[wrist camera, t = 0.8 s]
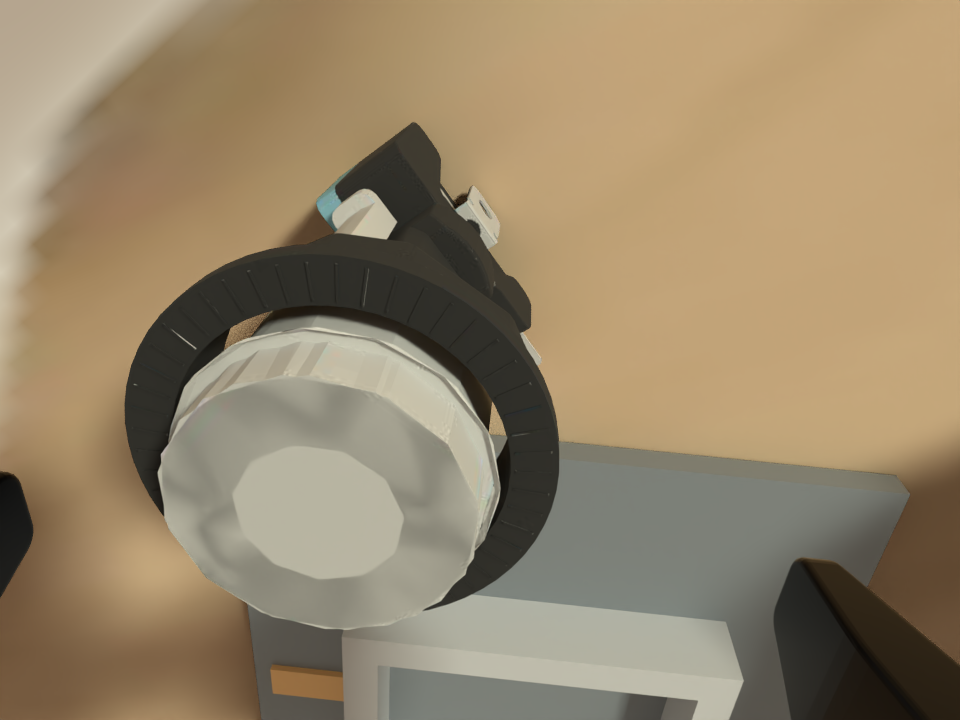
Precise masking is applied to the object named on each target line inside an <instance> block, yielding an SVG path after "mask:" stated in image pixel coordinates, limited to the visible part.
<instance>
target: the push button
mask: <svg viewBox="0 0 960 720" xmlns="http://www.w3.org/2000/svg"><path fill="white" fill-rule="evenodd" d="M440 170H441V159H440V156H439V153H438V152H437V150H436V148H435V147H434V145H433V144H432V142H431V141H430V140H429V138H428V137H427V135H426V134H425V132H424V131H423V130H422V129H421V127H420V126H419V125H418V124H417V123H414V122H413V123H411V124H410V125H409V126H407V127H406V128H405V129H403V130H402V131H401V132H399V133H398V134H397V135H395V136H394V137H393V138H391V139H390V140H389V141H387V142H386V143H385V144H383V145H382V146H381V147H379V148H378V149H377V150H375V151H374V152H373V153H371V154H370V155H369V156H367V157H366V158H365V159H363V160H362V161H361V162H359V163H358V164H357V165H355V166H354V167H353V168H351V169H350V170H349V171H347V172H346V173H345V174H343V175H342V176H341V177H340V178H339V179H338V180H337V181H336V182H335V183H334V184H332V185H331V186H330V187H329V188H328V189H327V190H326V191H325V192H324V193H323V194H322V195H321V196H320V197H319V198H318V199H317V202H316V204H317V207H318V210H319V211H320V213H321V215H322V216H323V218H324V219H325V220H326V221H327V223H328V224H329V225H330V226H331V228H332V229H333V230H334V231H335V233H334V234H331V235H328V236H326V237H324V238H321V239H319V240H316V241H314V242H311V243H309V244H307V245H292V246H286V247H280V248H274V249H269V250H265V251H262V252H258V253H254V254H251V255H247V256H245V257H242V258H240V259H238V260H235V261H233V262H230V263H228V264H226V265H224V266H222V267H220V268H218V269H217V270H215V271H213V272H211V273H210V274H208V275H206V276H205V277H203V278H202V279H201V280H199V281H198V282H197V283H195V284H194V285H193V286H191V287H190V288H189V289H188V290H186V291H185V292H184V293H183V294H182V295H181V296H179V297H178V298H177V299H176V300H175V301H174V302H173V303H172V304H171V305H170V306H169V307H168V308H167V309H166V310H165V311H164V312H163V313H162V314H161V315H160V316H159V317H158V319H157V320H156V321H155V322H154V324H153V325H152V326H151V328H150V329H149V330H148V332H147V334H146V335H145V337H144V339H143V341H142V342H141V344H140V346H139V348H138V350H137V353H136V355H135V358H134V360H133V363H132V365H131V369H130V373H129V377H128V381H127V386H126V396H125V425H126V431H127V437H128V443H129V447H130V450H131V454H132V457H133V461H134V463H135V466H136V468H137V471H138V473H139V476H140V478H141V480H142V482H143V484H144V486H145V488H146V489H147V491H148V493H149V495H150V497H151V498H152V500H153V501H154V503H155V504H156V506H157V507H158V509H159V510H160V512H161V513H162V514H163V516H164V517H165V521H166V522H167V524H168V528H169V530H170V531H171V533H172V534H173V535H174V537H175V538H176V539H177V540H178V542H179V543H180V544H181V546H182V547H183V548H184V549H185V551H186V552H187V553H188V555H189V556H190V557H191V559H192V560H193V561H194V562H195V564H196V565H197V566H198V568H199V569H200V570H201V572H202V573H203V574H204V575H205V577H206V578H207V579H209V580H211V581H212V582H214V583H215V584H217V585H219V586H220V587H222V588H223V589H225V590H226V591H228V592H230V593H231V594H233V595H234V596H236V597H238V598H239V599H241V600H242V601H244V602H246V603H247V604H249V605H250V606H252V607H254V608H255V609H257V610H258V611H260V612H261V613H265V614H268V615H270V616H272V617H276V618H282V619H287V620H292V621H296V622H300V623H303V624H307V625H311V626H315V627H319V628H323V629H343V630H351V629H355V628H360V627H371V626H388V625H390V624H393V623H395V622H397V621H399V620H401V619H404V618H408V617H413V616H417V615H418V614H419V613H420V612H422V611H426V610H431V609H434V608H438V607H441V606H444V605H448V604H451V603H453V602H456V601H458V600H461V599H463V598H466V597H468V596H470V595H472V594H474V593H476V592H478V591H480V590H481V589H483V588H485V587H486V586H488V585H489V584H491V583H493V582H494V581H496V580H497V579H499V578H500V577H501V576H502V575H503V574H505V573H506V572H507V571H508V570H510V569H511V568H512V567H513V566H514V565H515V564H516V563H517V562H518V561H519V560H520V559H521V558H522V557H523V556H524V555H525V554H526V552H527V551H528V550H529V548H530V547H531V546H532V544H533V543H534V542H535V541H536V539H537V537H538V535H539V534H540V532H541V530H542V529H543V527H544V525H545V523H546V521H547V518H548V516H549V514H550V511H551V509H552V506H553V502H554V498H555V495H556V491H557V485H558V478H559V436H558V428H557V420H556V415H555V411H554V407H553V403H552V399H551V396H550V393H549V391H548V388H547V385H546V383H545V380H544V378H543V376H542V374H541V372H540V370H539V368H538V365H539V364H541V361H542V358H541V357H540V355H539V354H538V352H537V351H536V350H535V348H534V347H533V346H532V344H531V343H530V341H529V340H528V339H527V337H526V336H525V335H524V333H523V332H524V331H525V330H527V329H529V328H530V327H531V303H530V301H529V298H528V297H527V295H526V293H525V292H524V290H523V289H522V287H521V286H520V284H519V283H518V282H517V281H516V279H515V278H513V277H511V276H508V275H506V274H505V273H504V272H503V270H502V269H501V267H500V266H499V265H498V263H497V262H496V260H495V259H494V258H493V256H492V255H491V253H490V252H489V251H488V249H489V248H491V247H492V246H494V245H495V244H496V243H497V242H498V241H497V238H498V235H499V229H500V223H499V221H498V219H497V217H496V215H495V214H494V212H493V211H492V209H491V208H490V207H489V205H488V204H487V202H486V201H485V199H484V198H483V197H482V195H481V194H480V192H479V191H478V189H476V188H475V187H474V186H471V187H470V189H469V192H468V195H467V198H466V199H467V201H466V202H464V203H463V204H462V205H460V206H459V207H457V206H456V204H455V203H454V202H453V200H452V199H451V197H450V196H449V195H448V193H447V192H446V190H445V189H444V188H443V186H442V185H441V183H440ZM481 206H482V207H483V208H484V210H485V211H486V213H487V215H488V216H487V215H486V214H485V212H484V211H483V209H482V207H481ZM266 312H269V314H268V315H267V316H266V318H265V319H264V320H263V322H262V323H261V324H260V325H259V327H258V328H257V329H256V331H255V332H254V333H253V335H252V336H251V337H250V338H246V339H244V340H242V341H240V342H238V343H235V344H233V345H231V346H229V347H228V348H227V349H226V350H224V347H225V342H226V339H227V337H228V334H229V331H230V328H231V327H233V326H235V325H237V324H239V323H240V322H242V321H244V320H246V319H249V318H252V317H254V316H257V315H260V314H263V313H266ZM492 401H493V403H494V405H495V407H496V409H497V411H498V413H499V415H500V418H501V420H502V422H503V425H504V428H505V432H506V435H507V440H506V443H505V445H504V447H503V449H502V451H501V453H500V454H499V456H498V457H497V459H496V457H495V451H494V445H493V442H492V439H491V437H490V435H489V424H490V415H491V406H492Z"/></svg>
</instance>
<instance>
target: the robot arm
mask: <svg viewBox="0 0 960 720" xmlns="http://www.w3.org/2000/svg"><path fill="white" fill-rule="evenodd" d="M32 537H33V523H32V520H31V517H30V513H29V510H28V507H27V503H26V500H25V497H24V494H23V490H22V487H21V484H20V481H19V480H18V478H17V477H16V476H15V475H14V474H11V473H9V472H2V471H0V598H1V596H2V594H3V592H4V591H5V589H6V587H7V585H8V584H9V582H10V580H11V578H12V577H13V575H14V573H15V571H16V570H17V568H18V566H19V565H20V563H21V561H22V559H23V558H24V556H25V554H26V552H27V551H28V549H29V547H30V544H31V541H32ZM773 626H774V633H775V638H776V644H777V649H778V654H779V660H780V665H781V670H782V676H783V681H784V686H785V692H786V697H787V702H788V707H789V713H790V718H791V720H960V665H959V664H958V663H956V662H955V661H954V660H953V659H952V658H950V657H949V656H948V655H947V654H946V653H945V652H943V651H942V650H941V649H940V648H939V647H937V646H936V645H935V644H934V643H933V642H931V641H930V640H929V639H928V638H927V637H925V636H924V635H923V634H922V633H921V632H920V631H918V630H917V629H916V628H915V627H914V626H912V625H911V624H910V623H909V622H908V621H906V620H905V619H904V618H903V617H902V616H901V615H899V614H898V613H897V612H896V611H895V610H893V609H892V608H891V607H890V606H889V605H887V604H886V603H885V602H884V601H883V600H881V599H880V598H879V597H878V596H877V595H876V594H874V593H873V592H872V591H871V590H870V589H868V588H867V587H866V586H865V585H864V584H862V583H861V582H860V581H859V580H858V579H856V578H855V577H854V576H853V575H852V574H851V573H849V572H848V571H847V570H846V569H845V568H843V567H842V566H841V565H839V564H838V563H836V562H834V561H831V560H825V559H815V558H806V557H801V558H798V559H796V560H795V561H794V562H793V563H792V565H791V567H790V569H789V572H788V574H787V577H786V580H785V582H784V585H783V587H782V590H781V593H780V595H779V598H778V600H777V603H776V606H775V609H774V615H773Z"/></svg>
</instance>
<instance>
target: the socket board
mask: <svg viewBox="0 0 960 720" xmlns="http://www.w3.org/2000/svg"><path fill="white" fill-rule="evenodd" d="M489 435H490V434H489ZM490 437H491V439H492V442H493V445H494V451H495V457H496V459H497V457H498V456H499V454H500V453H501V451H502V449H503V447H504V445H505V443H506V440H507V436H500V435H490ZM909 496H910V493H909V492H908V490H907V489H906V488H905V486H904V485H903V484H902V482H901V481H900V480H899V478H898V477H897V476H896V475H887V474H877V473H867V472H857V471H848V470H838V469H828V468H818V467H808V466H798V465H788V464H778V463H768V462H758V461H748V460H738V459H728V458H718V457H708V456H698V455H688V454H679V453H669V452H659V451H649V450H639V449H629V448H619V447H609V446H599V445H589V444H579V443H569V442H559V478H558V485H557V491H556V495H555V498H554V502H553V506H552V509H551V511H550V514H549V516H548V518H547V521H546V523H545V525H544V527H543V529H542V530H541V532H540V534H539V535H538V537H537V539H536V541H535V542H534V543H533V544H532V546H531V547H530V548H529V550H528V551H527V552H526V554H525V555H524V556H523V557H522V558H521V559H520V560H519V561H518V562H517V563H516V564H515V565H514V566H513V567H512V568H511V569H510V570H508V571H507V572H506V573H505V574H503V575H502V576H501V577H500V578H499V579H497V580H496V581H494V582H493V583H491V584H489V585H488V586H486V587H485V588H483V589H481V590H480V591H478V592H476V593H474V594H472V595H470V596H468V597H466V598H463V599H461V600H458V601H456V602H453V603H451V604H448V605H444V606H441V607H438V608H434V609H431V610H426V611H422V612H420V613H419V614H418V615H417V616H413V617H408V618H404V619H401V620H399V621H397V622H395V623H393V624H390V625H388V626H371V627H360V628H355V629H351V630H343V629H323V628H319V627H315V626H311V625H307V624H303V623H300V622H296V621H292V620H287V619H282V618H276V617H272V616H270V615H268V614H265V613H261V612H260V611H258V610H257V609H255V608H254V607H252V606H250V605H249V604H247V605H248V613H249V622H250V630H251V638H252V646H253V655H254V663H255V671H256V680H257V688H258V696H259V704H260V713H261V720H791V718H790V713H789V707H788V702H787V697H786V692H785V686H784V681H783V676H782V670H781V665H780V660H779V654H778V649H777V644H776V638H775V633H774V626H773V615H774V609H775V606H776V603H777V600H778V598H779V595H780V593H781V590H782V587H783V585H784V582H785V580H786V577H787V574H788V572H789V569H790V567H791V565H792V563H793V562H794V561H795V560H796V559H798V558H801V557H806V558H815V559H825V560H831V561H834V562H836V563H838V564H839V565H841V566H842V567H843V568H845V569H846V570H847V571H848V572H849V573H851V574H852V575H853V576H854V577H855V578H856V579H858V580H859V581H860V582H861V583H862V584H864V585H865V586H866V587H868V584H869V582H870V580H871V578H872V576H873V574H874V572H875V569H876V567H877V565H878V563H879V561H880V559H881V557H882V554H883V552H884V550H885V548H886V546H887V544H888V541H889V539H890V537H891V535H892V533H893V531H894V529H895V526H896V524H897V522H898V520H899V518H900V516H901V514H902V511H903V509H904V507H905V505H906V503H907V501H908V499H909Z"/></svg>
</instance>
